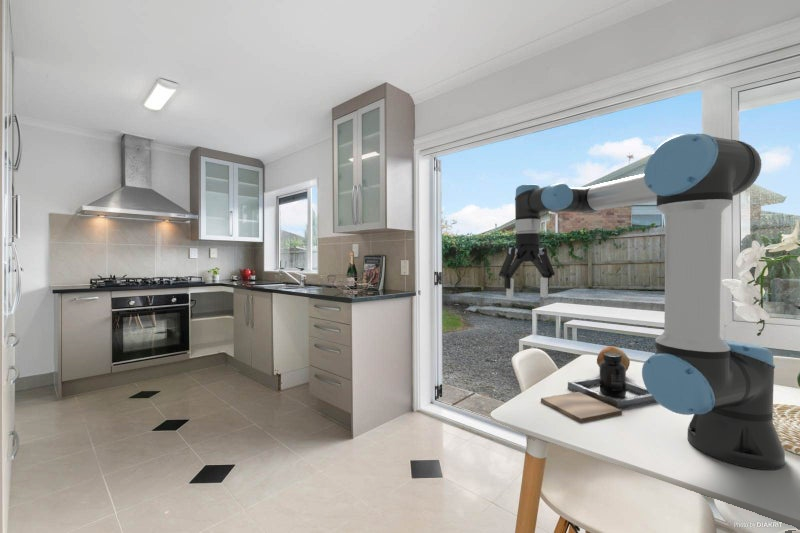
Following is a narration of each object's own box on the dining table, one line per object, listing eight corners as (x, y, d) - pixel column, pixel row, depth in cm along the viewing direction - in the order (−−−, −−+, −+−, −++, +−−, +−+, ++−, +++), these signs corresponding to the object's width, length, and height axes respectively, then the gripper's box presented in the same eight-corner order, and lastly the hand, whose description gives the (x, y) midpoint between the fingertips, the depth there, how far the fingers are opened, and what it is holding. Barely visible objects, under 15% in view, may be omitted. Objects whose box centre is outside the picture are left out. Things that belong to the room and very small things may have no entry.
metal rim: (661, 400, 103) (661, 393, 103) (617, 409, 97) (617, 402, 97) (608, 381, 119) (608, 375, 119) (567, 388, 113) (567, 381, 113)
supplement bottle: (628, 394, 108) (628, 354, 108) (622, 400, 103) (623, 359, 103) (602, 388, 113) (603, 350, 113) (596, 394, 108) (596, 354, 108)
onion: (634, 380, 120) (634, 350, 120) (601, 378, 122) (602, 349, 122) (623, 371, 129) (623, 344, 129) (593, 369, 131) (593, 342, 131)
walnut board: (621, 414, 94) (621, 410, 94) (580, 422, 90) (580, 418, 90) (578, 395, 107) (578, 391, 107) (540, 401, 103) (540, 398, 103)
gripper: (549, 234, 125) (549, 295, 125) (488, 233, 117) (488, 298, 117) (566, 233, 118) (566, 297, 118) (501, 231, 110) (501, 300, 110)
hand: (527, 298), depth 118 cm, fingers open, 13 cm apart
